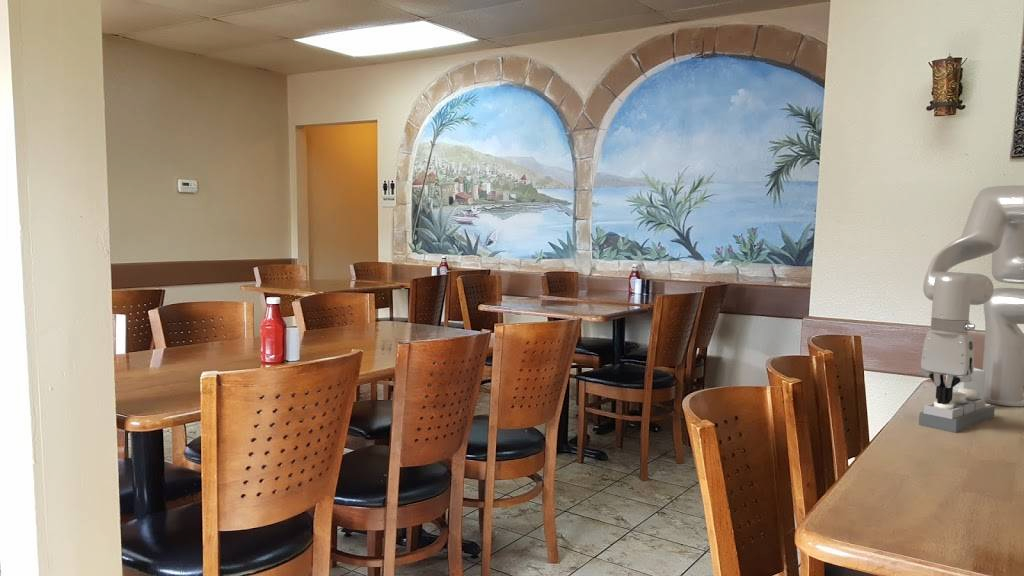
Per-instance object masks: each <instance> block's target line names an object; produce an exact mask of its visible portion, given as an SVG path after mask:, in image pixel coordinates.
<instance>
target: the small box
mask: <svg viewBox="0 0 1024 576" xmlns="http://www.w3.org/2000/svg"><path fill="white" fill-rule="evenodd" d="M947 376H948V375H946V376H945V381H946V380H947ZM958 377H960V376H958ZM961 377H963V376H961ZM971 378H972V381H970V382H960V383H958V384H957V385H955V386H954V387H953V392H958V388H968V389H974V390H977V398H981V399H983V398H984V382H985V371H984V370H983V369H981V368H977V367H974V371H973V373H972V374H971Z"/></svg>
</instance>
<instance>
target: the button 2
mask: <svg viewBox="0 0 1024 576" xmlns="http://www.w3.org/2000/svg"><path fill="white" fill-rule="evenodd" d="M958 392H961V393H964V394H966V399H970V400H975V399H976V398H977V390H974V389H968V388H958Z"/></svg>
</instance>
